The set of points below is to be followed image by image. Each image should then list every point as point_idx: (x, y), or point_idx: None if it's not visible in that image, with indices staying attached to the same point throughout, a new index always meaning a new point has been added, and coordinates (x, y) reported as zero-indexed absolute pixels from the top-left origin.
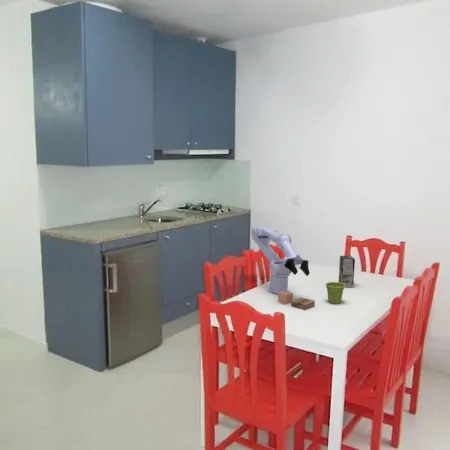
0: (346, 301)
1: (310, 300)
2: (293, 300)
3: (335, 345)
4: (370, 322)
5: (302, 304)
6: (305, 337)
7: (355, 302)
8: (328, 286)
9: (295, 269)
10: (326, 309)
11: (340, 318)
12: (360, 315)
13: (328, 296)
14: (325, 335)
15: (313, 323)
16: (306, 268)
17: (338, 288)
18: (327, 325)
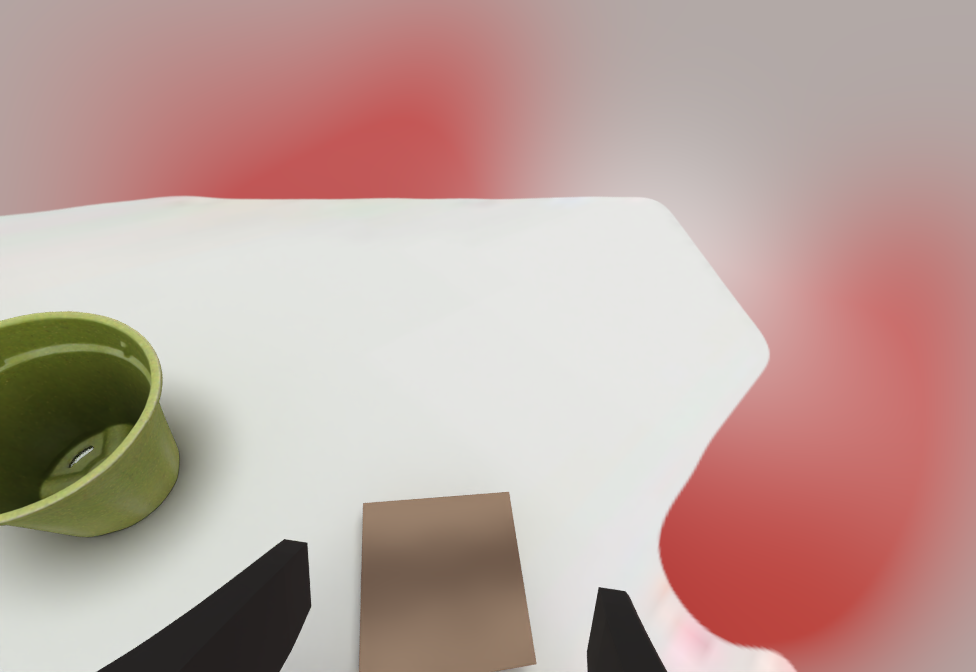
0: None
1: (378, 540)
2: (508, 659)
3: (670, 213)
4: (377, 200)
5: (512, 522)
6: (732, 296)
7: None
8: (146, 425)
9: (649, 640)
10: (363, 415)
11: (440, 295)
12: (316, 251)
13: (145, 492)
14: (649, 260)
15: (610, 346)
16: (217, 654)
17: (135, 342)
18: (569, 296)
